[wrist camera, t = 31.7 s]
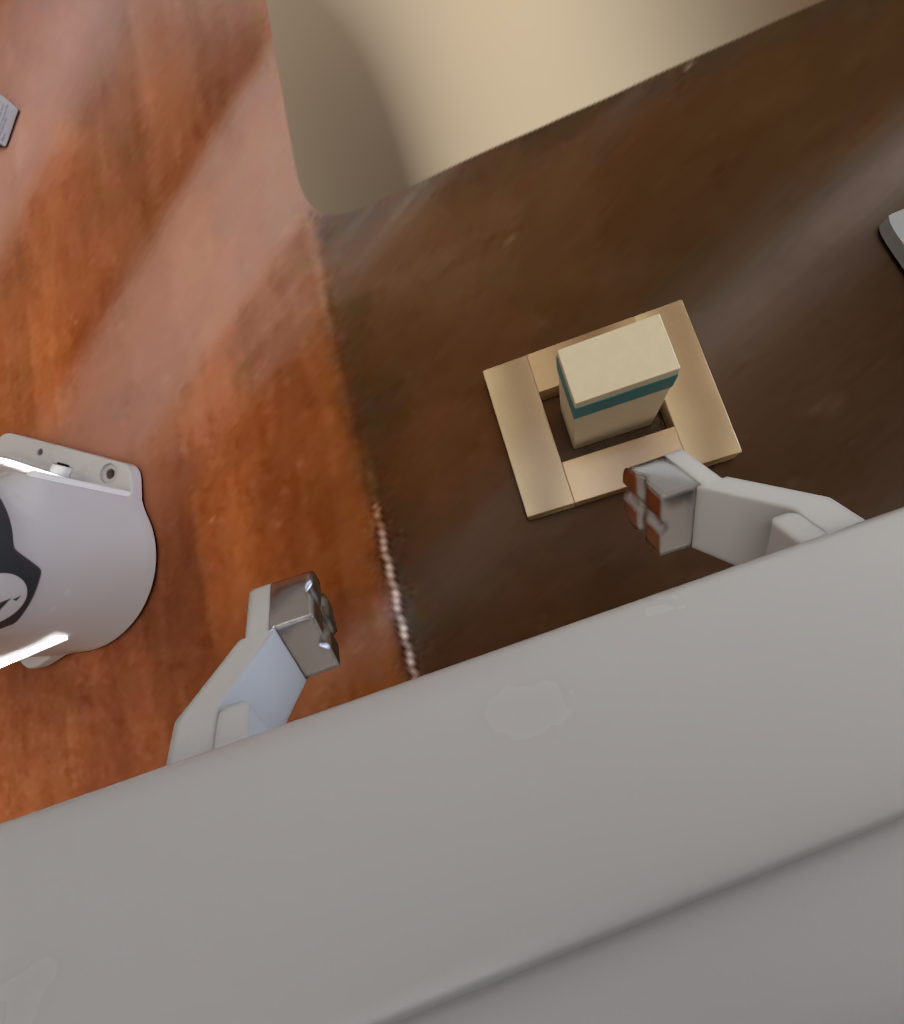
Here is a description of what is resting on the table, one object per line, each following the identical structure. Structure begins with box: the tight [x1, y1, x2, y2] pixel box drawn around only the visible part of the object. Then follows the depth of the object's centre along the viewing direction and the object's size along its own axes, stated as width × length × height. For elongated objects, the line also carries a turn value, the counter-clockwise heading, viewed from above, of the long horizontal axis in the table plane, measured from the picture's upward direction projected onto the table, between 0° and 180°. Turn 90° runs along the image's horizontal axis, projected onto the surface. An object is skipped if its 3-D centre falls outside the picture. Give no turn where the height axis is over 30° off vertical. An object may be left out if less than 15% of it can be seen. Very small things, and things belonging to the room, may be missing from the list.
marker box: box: [556, 314, 680, 449], centre depth 32 cm, size 6×3×10 cm, turn 106°
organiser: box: [483, 300, 742, 520], centre depth 36 cm, size 14×11×2 cm
